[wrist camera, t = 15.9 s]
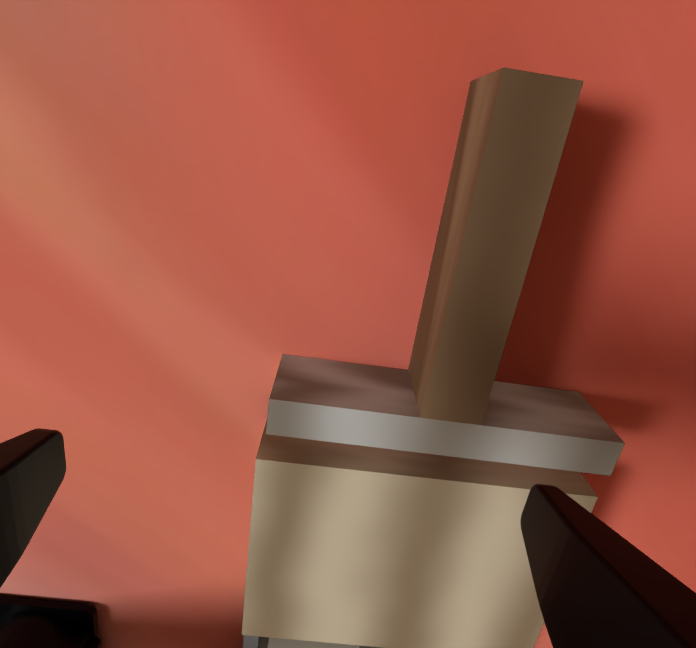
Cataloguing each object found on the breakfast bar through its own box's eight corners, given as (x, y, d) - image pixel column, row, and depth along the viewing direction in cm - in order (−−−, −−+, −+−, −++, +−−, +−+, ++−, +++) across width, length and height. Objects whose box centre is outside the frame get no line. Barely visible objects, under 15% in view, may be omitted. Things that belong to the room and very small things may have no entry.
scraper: (279, 383, 22) (265, 434, 18) (313, 55, 17) (304, 34, 13) (568, 419, 23) (610, 475, 19) (682, 116, 18) (770, 112, 14)
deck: (252, 582, 27) (241, 634, 24) (266, 418, 23) (256, 459, 20) (509, 607, 28) (527, 660, 25) (568, 453, 23) (598, 497, 21)
